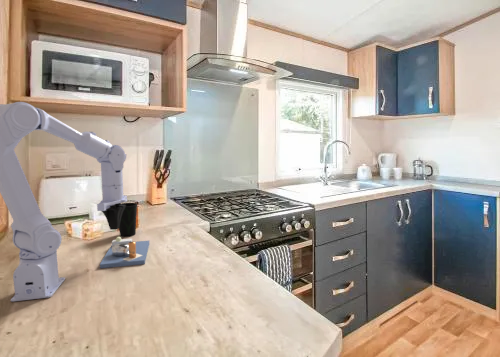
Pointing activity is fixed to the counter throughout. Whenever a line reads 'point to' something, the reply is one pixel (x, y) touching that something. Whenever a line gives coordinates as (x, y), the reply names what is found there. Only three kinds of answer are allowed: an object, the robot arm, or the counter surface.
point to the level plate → (125, 260)
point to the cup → (128, 220)
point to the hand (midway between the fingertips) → (114, 229)
